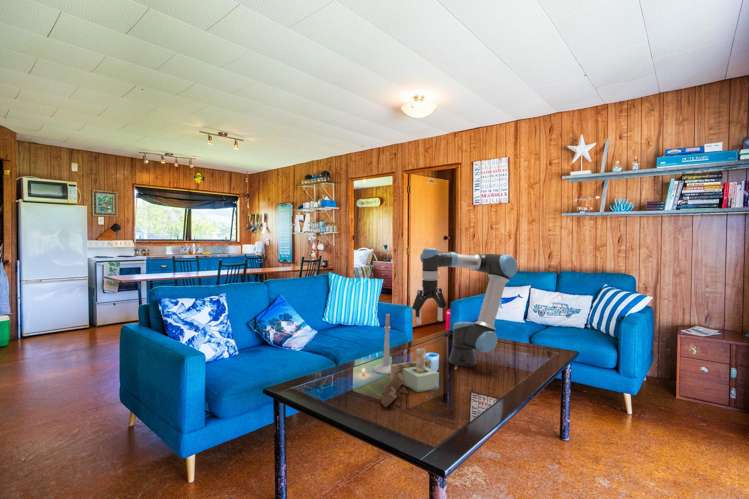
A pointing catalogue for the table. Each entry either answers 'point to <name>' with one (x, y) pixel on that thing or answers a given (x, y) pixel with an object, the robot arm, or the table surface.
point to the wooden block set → (393, 389)
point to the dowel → (420, 360)
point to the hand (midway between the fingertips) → (429, 322)
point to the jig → (399, 367)
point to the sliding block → (420, 379)
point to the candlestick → (385, 352)
